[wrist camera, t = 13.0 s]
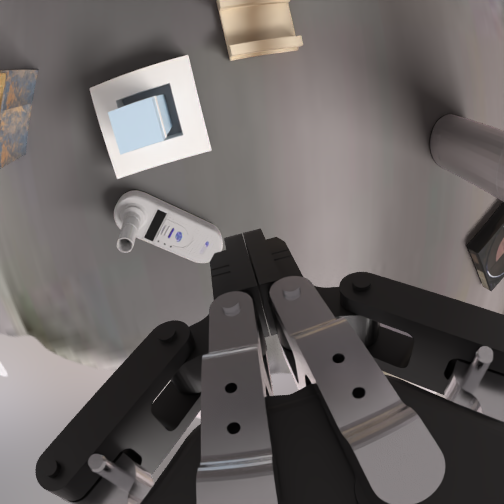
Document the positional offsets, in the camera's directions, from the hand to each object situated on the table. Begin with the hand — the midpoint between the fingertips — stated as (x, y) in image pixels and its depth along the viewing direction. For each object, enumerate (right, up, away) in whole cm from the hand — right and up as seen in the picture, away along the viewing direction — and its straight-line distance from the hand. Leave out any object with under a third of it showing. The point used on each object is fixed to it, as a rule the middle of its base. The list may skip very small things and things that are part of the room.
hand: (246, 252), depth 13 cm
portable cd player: (+55, +3, +41) cm, 69 cm away
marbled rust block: (-29, +18, +16) cm, 38 cm away
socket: (-11, +16, +20) cm, 28 cm away
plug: (-11, +16, +19) cm, 27 cm away
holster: (+1, +26, +16) cm, 31 cm away
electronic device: (-11, +4, +28) cm, 30 cm away
